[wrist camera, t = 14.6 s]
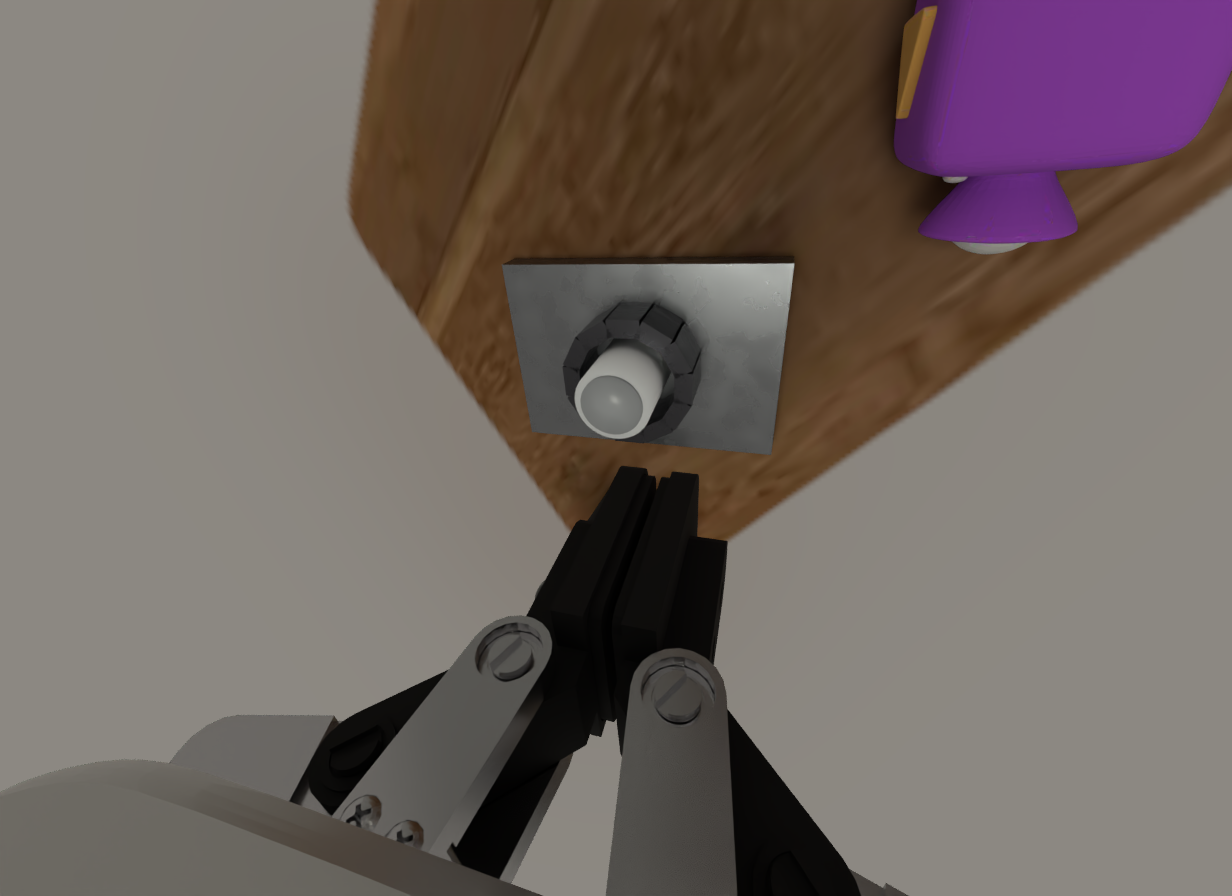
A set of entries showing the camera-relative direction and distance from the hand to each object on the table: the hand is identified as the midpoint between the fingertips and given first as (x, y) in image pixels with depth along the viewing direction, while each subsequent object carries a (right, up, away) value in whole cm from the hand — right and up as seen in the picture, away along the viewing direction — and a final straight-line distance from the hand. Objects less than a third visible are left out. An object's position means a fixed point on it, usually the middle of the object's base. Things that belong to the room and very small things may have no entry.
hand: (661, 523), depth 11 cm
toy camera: (+19, +20, +14) cm, 31 cm away
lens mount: (+1, +9, +27) cm, 29 cm away
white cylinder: (+1, +8, +26) cm, 27 cm away
